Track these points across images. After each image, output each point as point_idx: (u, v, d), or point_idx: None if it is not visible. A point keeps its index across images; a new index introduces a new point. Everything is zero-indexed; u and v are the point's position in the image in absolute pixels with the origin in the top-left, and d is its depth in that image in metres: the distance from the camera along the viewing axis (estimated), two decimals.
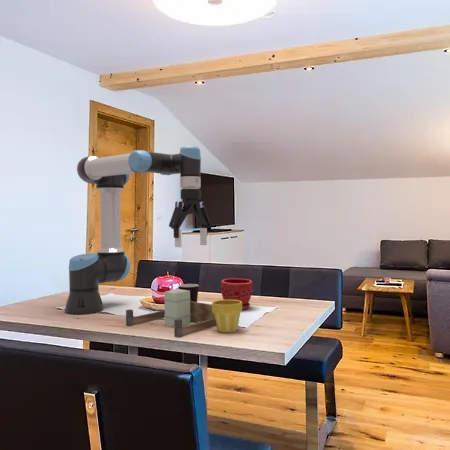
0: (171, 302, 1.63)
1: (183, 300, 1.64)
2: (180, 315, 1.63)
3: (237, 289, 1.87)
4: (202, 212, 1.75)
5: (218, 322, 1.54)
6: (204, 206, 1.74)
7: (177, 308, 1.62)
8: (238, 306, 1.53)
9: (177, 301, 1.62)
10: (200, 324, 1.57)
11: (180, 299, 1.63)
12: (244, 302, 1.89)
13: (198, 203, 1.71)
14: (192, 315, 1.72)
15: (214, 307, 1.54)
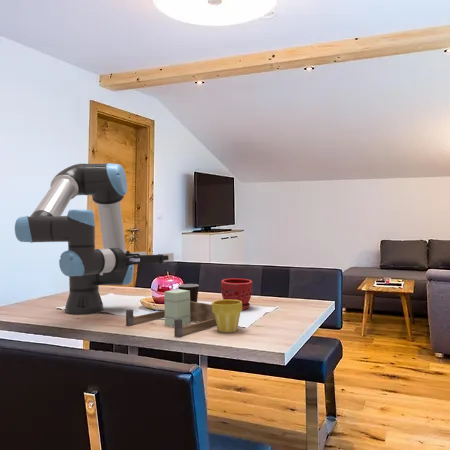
0: (171, 302, 1.63)
1: (183, 300, 1.64)
2: (180, 315, 1.63)
3: (237, 289, 1.87)
4: None
5: (218, 322, 1.54)
6: (138, 263, 1.44)
7: (177, 308, 1.62)
8: (238, 306, 1.53)
9: (177, 301, 1.62)
10: (200, 324, 1.57)
11: (180, 299, 1.63)
12: (244, 302, 1.89)
13: (128, 263, 1.45)
14: (192, 315, 1.72)
15: (214, 307, 1.54)
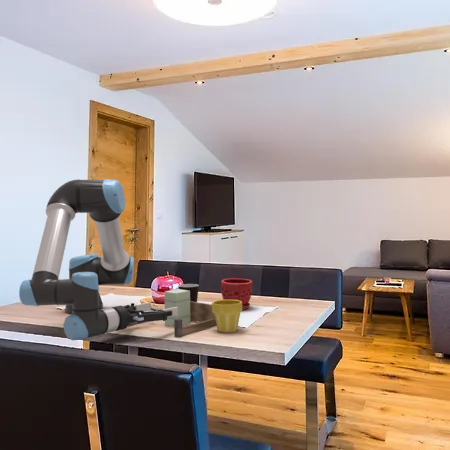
0: (171, 302, 1.63)
1: (183, 300, 1.64)
2: (180, 315, 1.63)
3: (237, 289, 1.87)
4: None
5: (218, 322, 1.54)
6: None
7: None
8: (238, 306, 1.53)
9: (177, 301, 1.62)
10: (200, 324, 1.57)
11: (180, 299, 1.63)
12: (244, 302, 1.89)
13: (132, 320, 1.47)
14: (192, 315, 1.72)
15: (214, 307, 1.54)
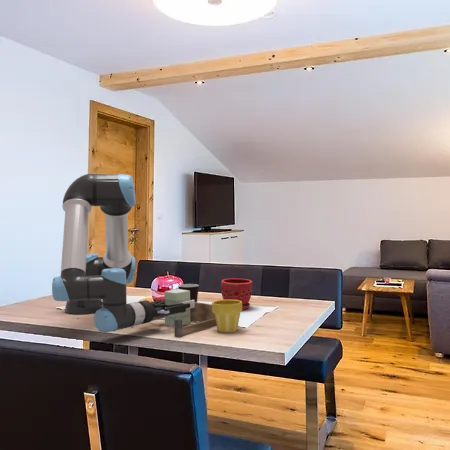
0: (171, 302, 1.63)
1: (183, 300, 1.64)
2: (180, 315, 1.63)
3: (237, 289, 1.87)
4: None
5: (218, 322, 1.54)
6: None
7: None
8: (238, 306, 1.53)
9: (177, 300, 1.62)
10: (200, 324, 1.57)
11: (180, 299, 1.63)
12: (244, 302, 1.89)
13: (157, 314, 1.55)
14: (192, 315, 1.72)
15: (214, 307, 1.54)
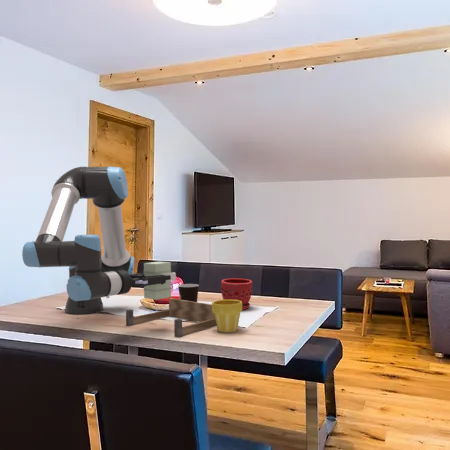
0: (151, 273, 1.56)
1: (163, 272, 1.57)
2: (160, 287, 1.56)
3: (237, 289, 1.87)
4: None
5: (218, 322, 1.54)
6: None
7: None
8: (238, 306, 1.53)
9: (157, 272, 1.55)
10: (200, 324, 1.57)
11: (160, 270, 1.56)
12: (244, 302, 1.89)
13: None
14: (192, 315, 1.72)
15: (214, 307, 1.54)
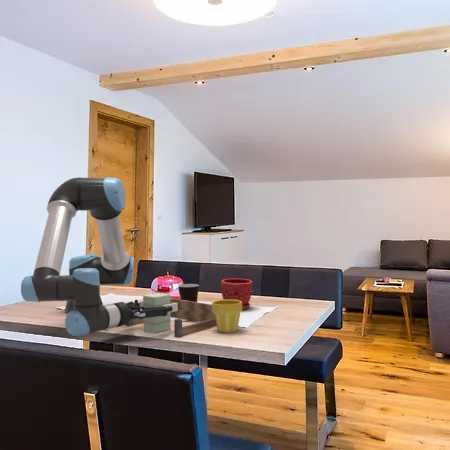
0: (150, 306, 1.55)
1: (162, 304, 1.57)
2: (159, 320, 1.56)
3: (237, 289, 1.87)
4: None
5: (218, 322, 1.54)
6: None
7: None
8: (238, 306, 1.53)
9: (156, 305, 1.54)
10: (200, 324, 1.57)
11: (159, 303, 1.56)
12: (244, 302, 1.89)
13: (133, 317, 1.47)
14: (192, 315, 1.72)
15: (214, 307, 1.54)
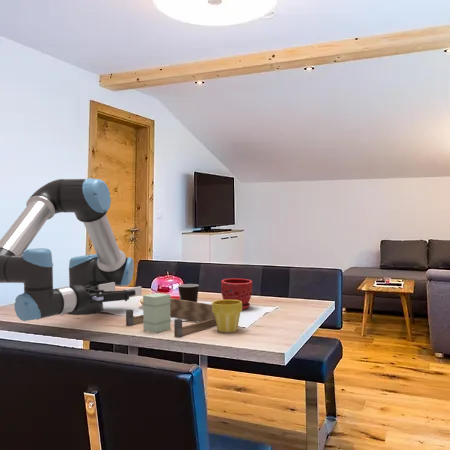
0: (150, 306, 1.55)
1: (162, 304, 1.57)
2: (159, 320, 1.56)
3: (237, 289, 1.87)
4: None
5: (218, 322, 1.54)
6: None
7: (156, 313, 1.54)
8: (238, 306, 1.53)
9: (156, 305, 1.54)
10: (200, 324, 1.57)
11: (159, 303, 1.56)
12: (244, 302, 1.89)
13: (92, 300, 1.38)
14: (192, 315, 1.72)
15: (214, 307, 1.54)
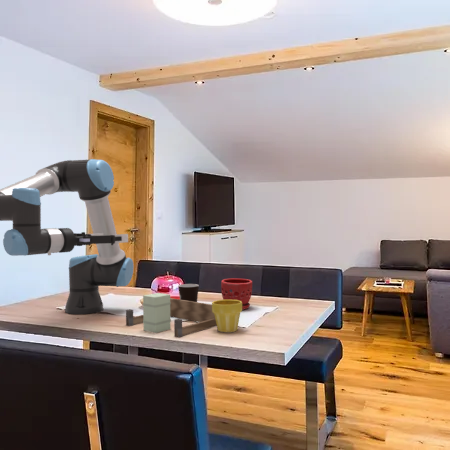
0: (150, 306, 1.55)
1: (162, 304, 1.57)
2: (159, 320, 1.56)
3: (237, 289, 1.87)
4: None
5: (218, 322, 1.54)
6: (88, 243, 1.42)
7: (156, 313, 1.54)
8: (238, 306, 1.53)
9: (156, 305, 1.54)
10: (200, 324, 1.57)
11: (159, 303, 1.56)
12: (244, 302, 1.89)
13: None
14: (192, 315, 1.72)
15: (214, 307, 1.54)
